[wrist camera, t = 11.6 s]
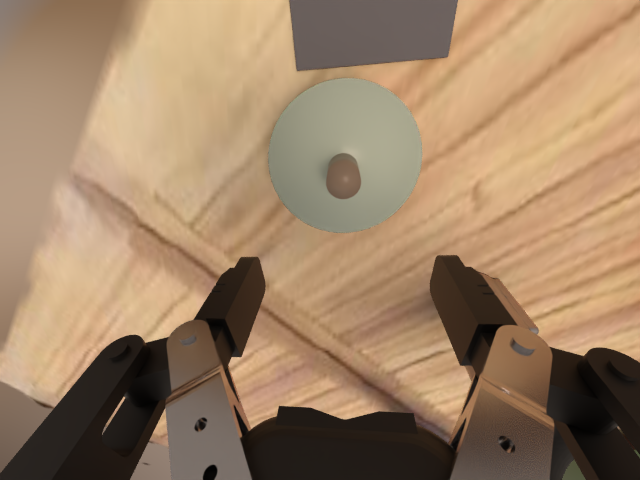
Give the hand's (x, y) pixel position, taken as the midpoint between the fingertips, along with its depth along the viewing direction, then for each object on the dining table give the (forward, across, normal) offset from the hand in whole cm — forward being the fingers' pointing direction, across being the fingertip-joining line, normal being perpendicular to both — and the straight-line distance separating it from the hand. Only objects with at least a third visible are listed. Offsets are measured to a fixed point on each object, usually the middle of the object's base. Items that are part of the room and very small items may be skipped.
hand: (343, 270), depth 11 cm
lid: (+16, 0, 0) cm, 16 cm away
